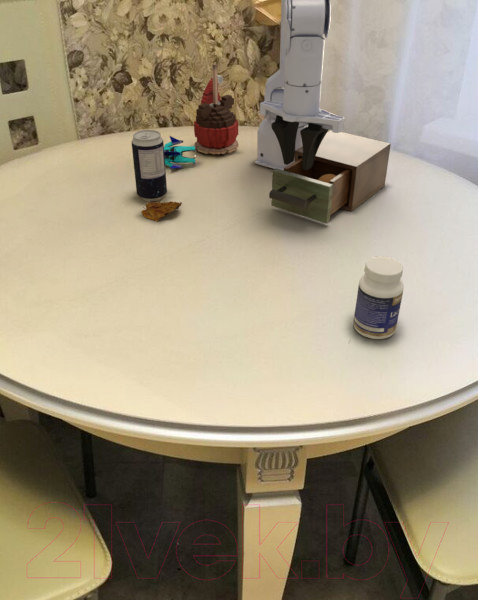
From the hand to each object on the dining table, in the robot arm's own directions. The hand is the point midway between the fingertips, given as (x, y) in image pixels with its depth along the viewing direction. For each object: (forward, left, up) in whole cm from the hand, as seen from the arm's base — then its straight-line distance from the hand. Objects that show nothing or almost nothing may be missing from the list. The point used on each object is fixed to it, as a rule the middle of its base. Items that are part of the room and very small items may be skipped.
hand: (298, 165), depth 102 cm
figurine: (-34, +4, -11) cm, 36 cm away
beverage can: (-27, -8, -11) cm, 30 cm away
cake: (-32, +18, -11) cm, 38 cm away
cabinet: (0, +16, -10) cm, 19 cm away
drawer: (0, +5, -10) cm, 11 cm away
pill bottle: (+25, -20, -11) cm, 33 cm away
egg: (+2, +5, -6) cm, 8 cm away
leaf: (-21, -12, -11) cm, 26 cm away
